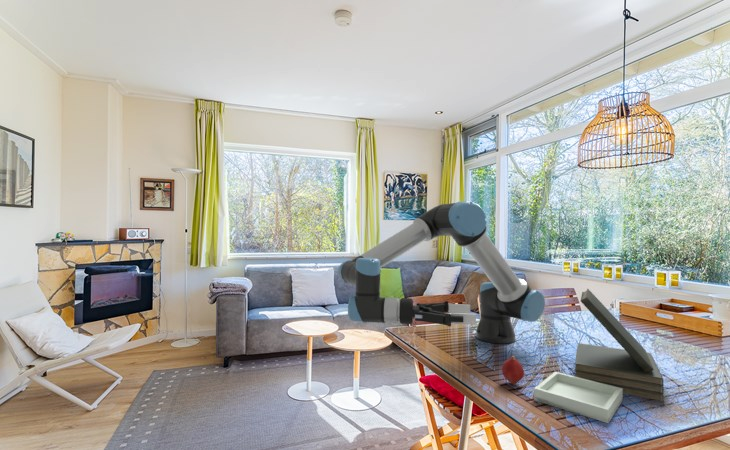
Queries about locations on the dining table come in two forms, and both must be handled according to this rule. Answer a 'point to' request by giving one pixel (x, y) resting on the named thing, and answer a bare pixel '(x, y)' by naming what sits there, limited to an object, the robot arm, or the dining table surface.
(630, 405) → the dining table surface
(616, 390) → the tray
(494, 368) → the dining table surface
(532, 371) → the dining table surface
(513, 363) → the onion
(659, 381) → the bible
